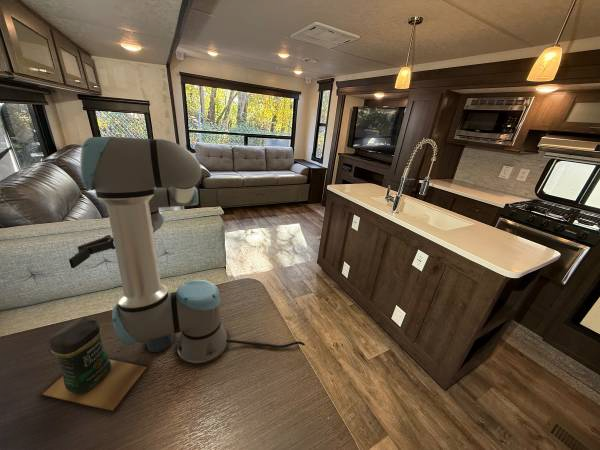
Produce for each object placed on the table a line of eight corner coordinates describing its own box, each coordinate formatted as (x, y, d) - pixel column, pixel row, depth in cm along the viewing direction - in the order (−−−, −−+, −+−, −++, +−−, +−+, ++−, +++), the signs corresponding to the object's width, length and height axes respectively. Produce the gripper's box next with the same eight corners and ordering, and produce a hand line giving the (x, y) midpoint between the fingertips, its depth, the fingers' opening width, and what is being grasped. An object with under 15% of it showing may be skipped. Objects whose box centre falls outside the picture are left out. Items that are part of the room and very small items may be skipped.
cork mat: (146, 367, 73) (146, 367, 73) (113, 411, 62) (112, 410, 62) (85, 355, 75) (85, 354, 75) (42, 395, 64) (42, 394, 64)
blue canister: (178, 335, 85) (174, 310, 80) (163, 354, 78) (159, 327, 73) (157, 331, 85) (152, 306, 81) (141, 349, 78) (135, 323, 74)
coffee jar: (84, 399, 64) (64, 347, 56) (60, 390, 65) (37, 338, 58) (118, 366, 72) (104, 317, 65) (96, 358, 74) (80, 310, 66)
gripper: (175, 243, 91) (148, 276, 71) (101, 241, 88) (52, 275, 68) (172, 224, 88) (144, 253, 69) (96, 222, 85) (44, 251, 65)
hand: (98, 264), depth 68 cm, fingers open, 13 cm apart
